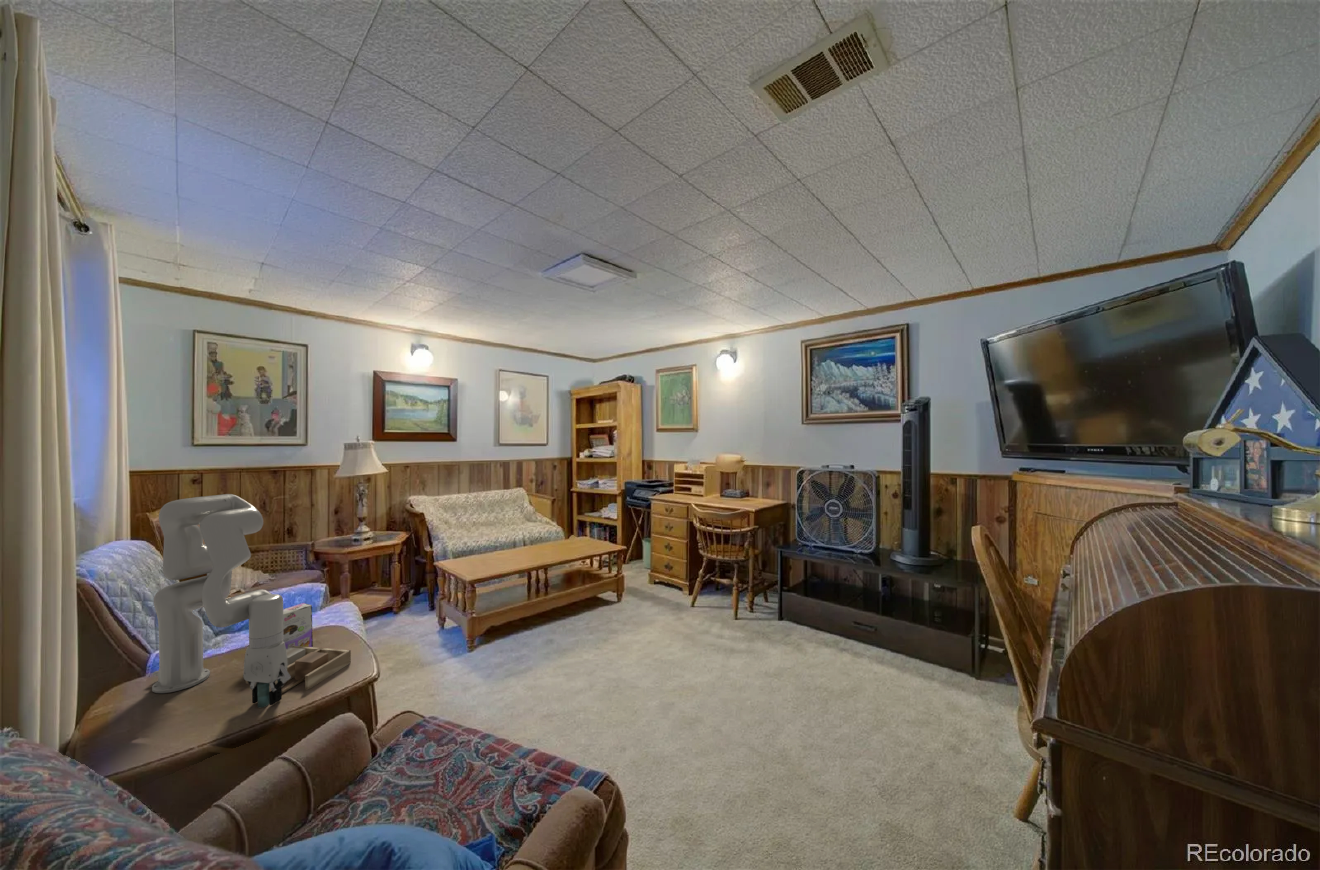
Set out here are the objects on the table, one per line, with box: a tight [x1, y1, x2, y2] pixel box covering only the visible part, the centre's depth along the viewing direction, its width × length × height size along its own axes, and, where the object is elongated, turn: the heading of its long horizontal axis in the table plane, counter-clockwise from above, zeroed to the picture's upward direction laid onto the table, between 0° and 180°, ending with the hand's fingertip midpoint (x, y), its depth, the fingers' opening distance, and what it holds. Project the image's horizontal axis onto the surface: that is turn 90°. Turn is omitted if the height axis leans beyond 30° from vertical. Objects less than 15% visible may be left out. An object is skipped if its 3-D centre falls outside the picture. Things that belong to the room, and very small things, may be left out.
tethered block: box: [257, 652, 328, 709], centre depth 139 cm, size 6×20×7 cm, turn 172°
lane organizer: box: [245, 646, 352, 690], centre depth 148 cm, size 22×16×5 cm
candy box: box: [283, 602, 314, 649], centre depth 159 cm, size 14×6×16 cm, turn 154°
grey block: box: [286, 648, 305, 665], centre depth 149 cm, size 6×6×6 cm
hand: (267, 700), depth 131 cm, fingers open, 4 cm apart
